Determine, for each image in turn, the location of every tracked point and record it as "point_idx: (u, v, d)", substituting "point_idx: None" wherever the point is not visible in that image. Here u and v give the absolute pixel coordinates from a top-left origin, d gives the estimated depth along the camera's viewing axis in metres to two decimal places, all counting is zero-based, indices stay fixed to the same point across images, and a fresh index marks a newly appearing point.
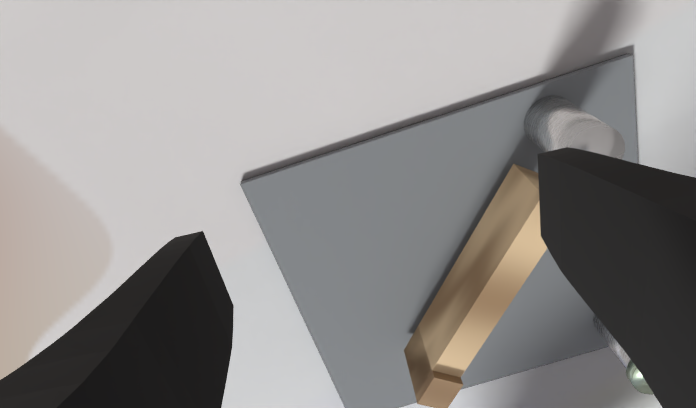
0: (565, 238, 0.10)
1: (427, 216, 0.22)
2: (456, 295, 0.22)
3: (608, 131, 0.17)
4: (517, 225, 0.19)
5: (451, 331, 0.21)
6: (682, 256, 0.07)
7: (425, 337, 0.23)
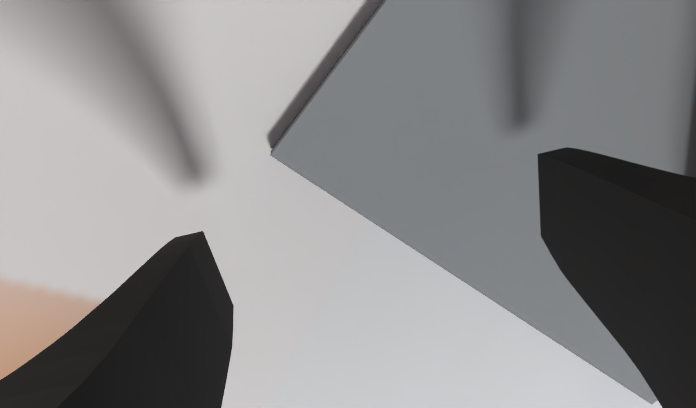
0: (565, 238, 0.10)
1: (609, 19, 0.11)
2: None
3: None
4: None
5: None
6: (682, 256, 0.07)
7: None
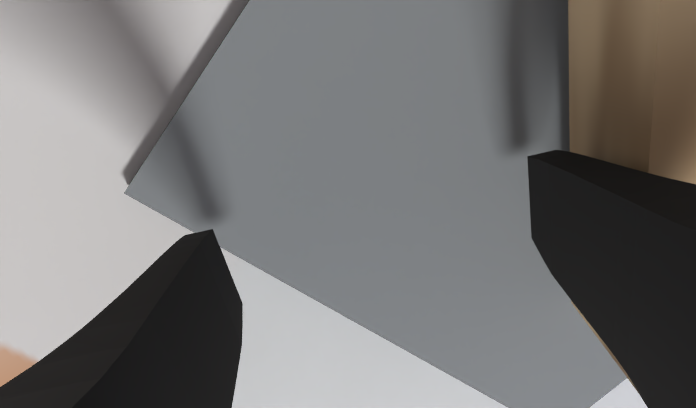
0: (555, 241, 0.10)
1: (461, 57, 0.11)
2: None
3: None
4: None
5: None
6: (666, 259, 0.07)
7: None
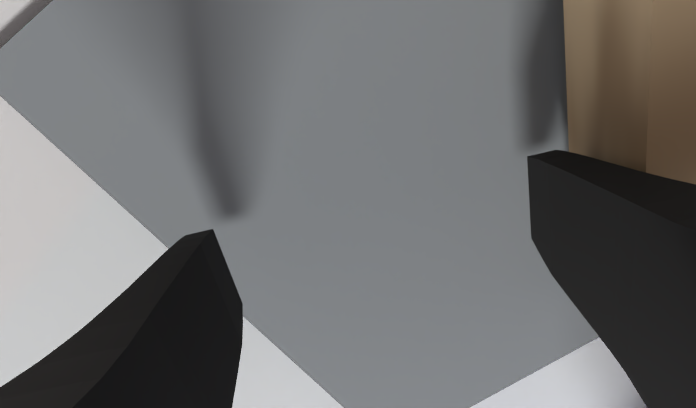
0: (554, 241, 0.10)
1: (375, 31, 0.10)
2: None
3: None
4: None
5: None
6: (666, 260, 0.07)
7: None
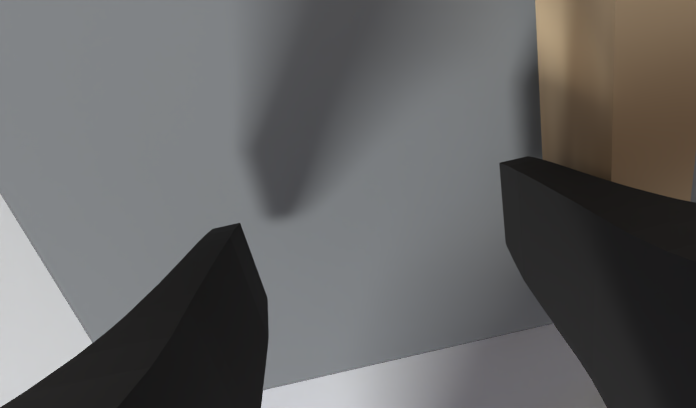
0: (525, 247, 0.10)
1: None
2: None
3: None
4: None
5: None
6: (622, 269, 0.07)
7: None
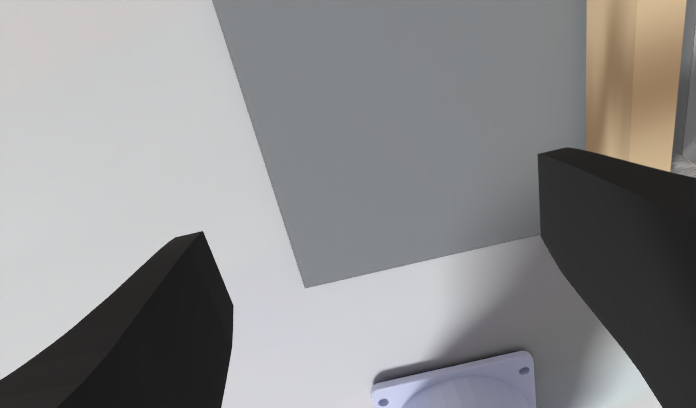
0: (565, 238, 0.10)
1: None
2: (607, 112, 0.17)
3: None
4: None
5: (624, 153, 0.17)
6: (682, 256, 0.07)
7: None
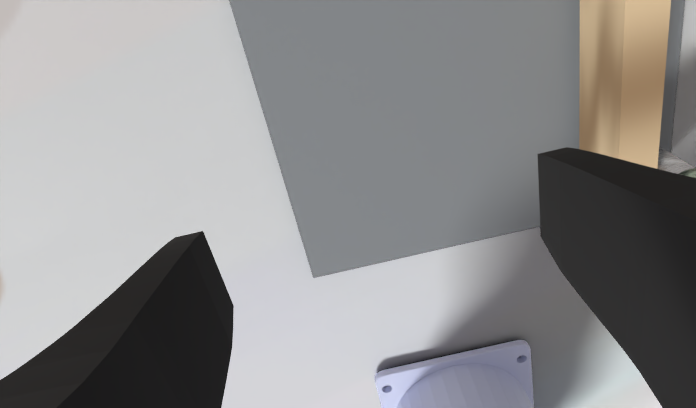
0: (565, 237, 0.10)
1: None
2: (599, 110, 0.18)
3: None
4: None
5: (614, 149, 0.18)
6: (682, 256, 0.07)
7: None
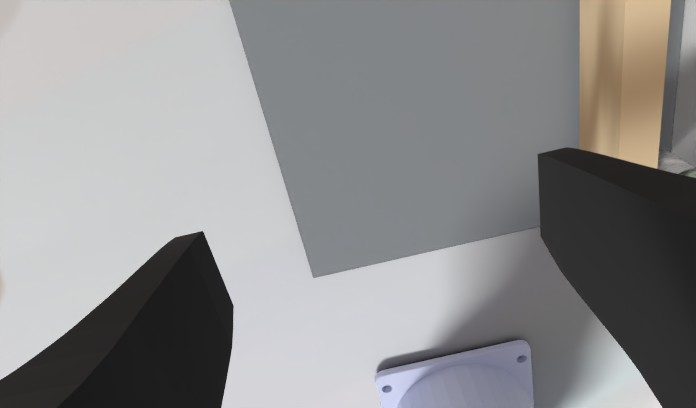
0: (565, 237, 0.10)
1: None
2: (599, 110, 0.18)
3: None
4: None
5: (614, 149, 0.18)
6: (682, 256, 0.07)
7: None
